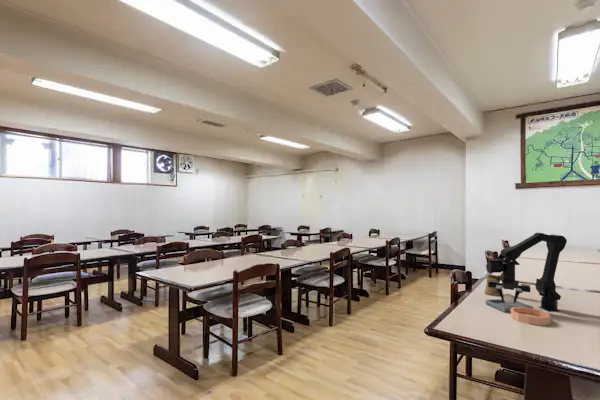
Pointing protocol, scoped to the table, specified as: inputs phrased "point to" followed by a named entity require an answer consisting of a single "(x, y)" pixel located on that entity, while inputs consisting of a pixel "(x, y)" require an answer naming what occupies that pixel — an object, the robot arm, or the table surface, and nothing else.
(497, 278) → the wooden mug
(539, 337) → the table surface
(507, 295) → the ball
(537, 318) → the bowl
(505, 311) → the tray
